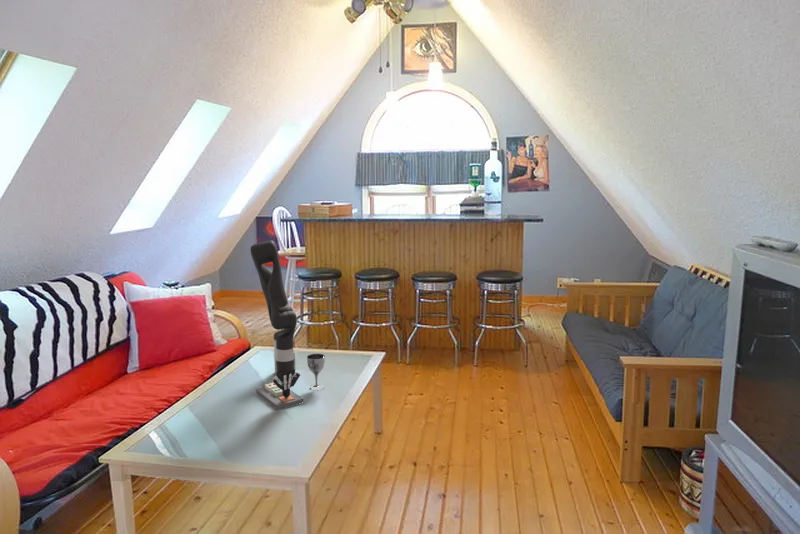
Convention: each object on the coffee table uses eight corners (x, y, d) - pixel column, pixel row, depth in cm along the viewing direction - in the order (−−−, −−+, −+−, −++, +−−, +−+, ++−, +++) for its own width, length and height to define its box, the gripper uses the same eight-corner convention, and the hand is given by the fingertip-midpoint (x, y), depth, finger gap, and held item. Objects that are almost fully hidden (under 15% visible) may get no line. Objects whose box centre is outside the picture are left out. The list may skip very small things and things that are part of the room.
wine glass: (304, 389, 252) (303, 357, 250) (313, 383, 260) (312, 352, 257) (319, 392, 249) (319, 360, 247) (328, 385, 257) (327, 354, 254)
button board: (280, 387, 255) (280, 383, 254) (303, 403, 237) (303, 398, 237) (256, 393, 247) (255, 389, 247) (277, 410, 230) (277, 405, 230)
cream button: (275, 387, 251) (274, 381, 250) (279, 390, 247) (279, 385, 247) (265, 389, 248) (264, 384, 248) (269, 393, 244) (269, 387, 244)
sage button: (281, 392, 245) (281, 386, 245) (286, 395, 242) (286, 389, 241) (271, 394, 243) (271, 389, 242) (276, 398, 239) (276, 392, 238)
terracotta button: (289, 399, 240) (288, 394, 240) (294, 403, 236) (293, 397, 236) (278, 402, 237) (278, 396, 237) (283, 406, 234) (283, 400, 233)
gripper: (295, 352, 240) (296, 390, 243) (266, 358, 232) (268, 397, 235) (303, 357, 235) (304, 396, 237) (274, 363, 227) (275, 403, 229)
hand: (286, 396), depth 236 cm, fingers closed
